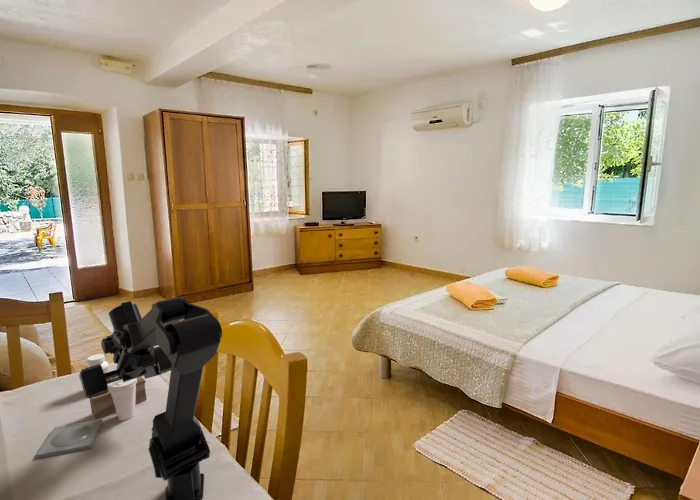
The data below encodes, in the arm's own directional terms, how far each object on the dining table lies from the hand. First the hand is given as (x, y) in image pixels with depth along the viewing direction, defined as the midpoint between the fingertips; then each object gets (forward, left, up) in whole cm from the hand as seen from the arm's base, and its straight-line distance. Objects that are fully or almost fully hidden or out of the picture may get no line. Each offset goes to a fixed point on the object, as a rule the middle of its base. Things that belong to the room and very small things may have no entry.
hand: (125, 383), depth 96 cm
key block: (+7, +4, -10) cm, 12 cm away
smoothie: (+2, +1, -10) cm, 10 cm away
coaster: (-4, +11, -10) cm, 15 cm away
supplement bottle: (+19, +11, -10) cm, 24 cm away
